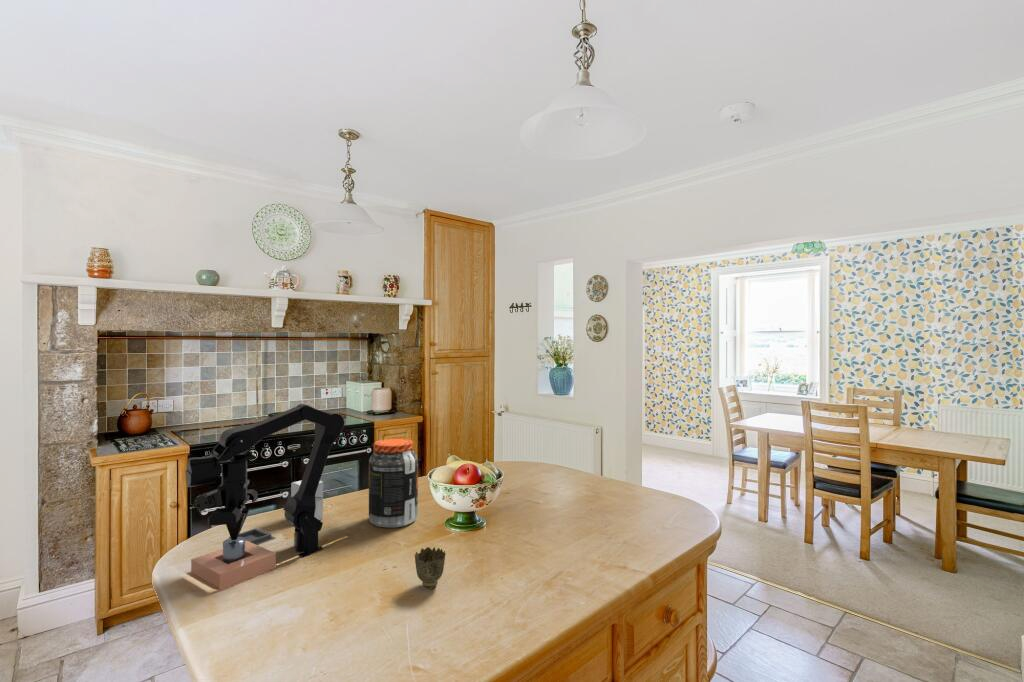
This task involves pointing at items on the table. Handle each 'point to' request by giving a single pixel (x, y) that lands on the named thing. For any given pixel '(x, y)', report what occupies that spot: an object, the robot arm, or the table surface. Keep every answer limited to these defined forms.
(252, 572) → the hub block
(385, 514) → the supplement tub
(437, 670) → the table surface
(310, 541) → the robot arm
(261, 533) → the stand
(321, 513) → the supplement box
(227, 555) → the steel peg
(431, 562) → the cup
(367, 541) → the table surface
